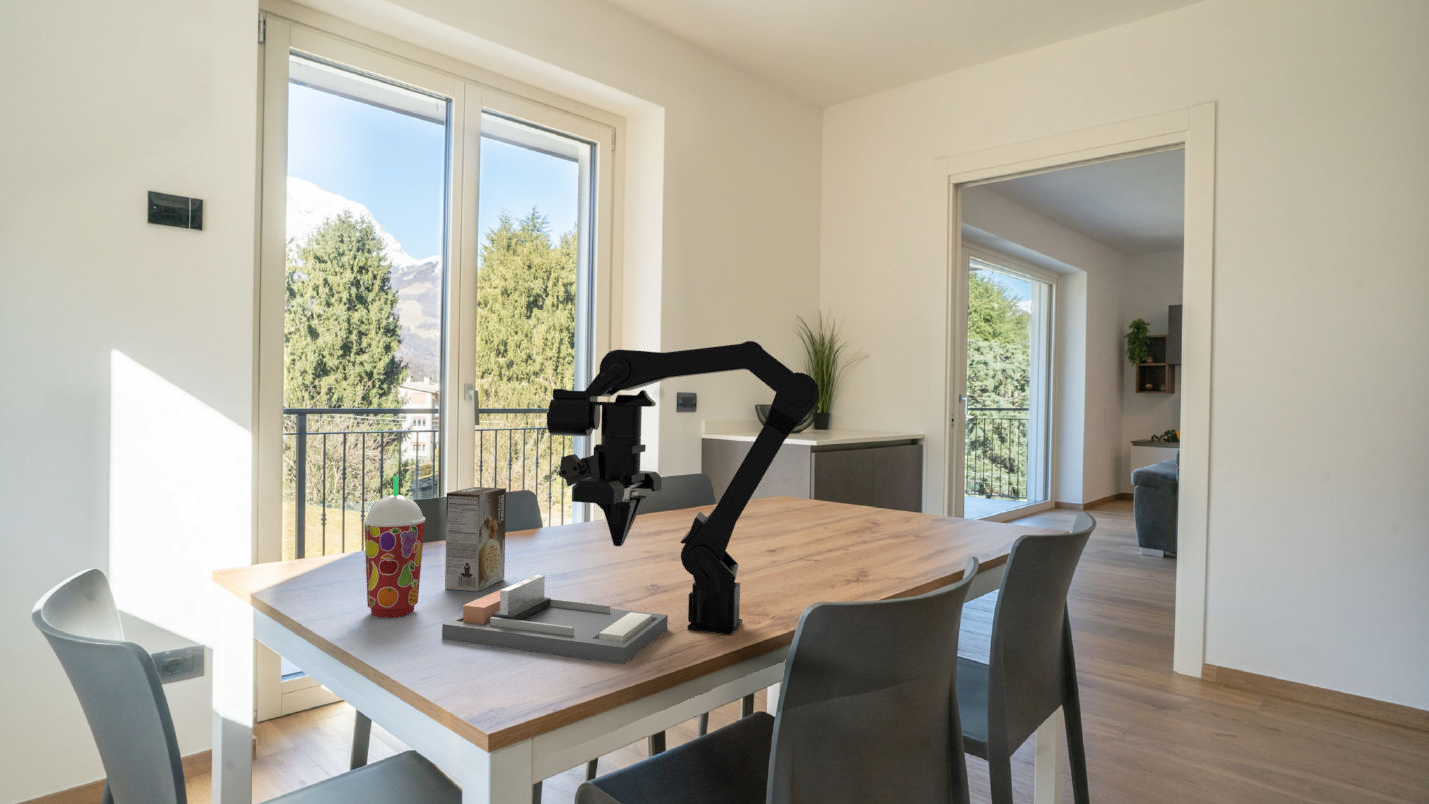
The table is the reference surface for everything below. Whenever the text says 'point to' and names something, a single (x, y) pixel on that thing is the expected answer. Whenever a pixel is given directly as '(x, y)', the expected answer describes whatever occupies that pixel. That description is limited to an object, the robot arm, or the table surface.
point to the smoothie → (393, 555)
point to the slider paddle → (523, 599)
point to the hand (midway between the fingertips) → (618, 545)
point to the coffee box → (475, 538)
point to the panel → (560, 632)
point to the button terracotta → (482, 609)
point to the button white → (626, 627)
